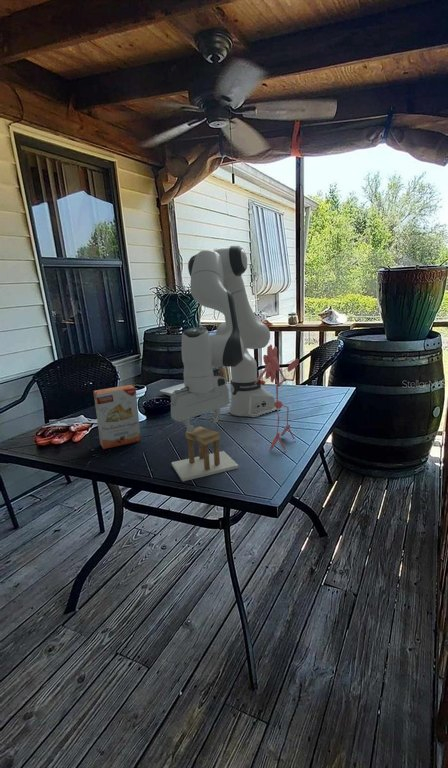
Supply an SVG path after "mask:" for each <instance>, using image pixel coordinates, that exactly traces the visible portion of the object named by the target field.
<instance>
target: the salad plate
mask: <svg viewBox="0 0 448 768" xmlns="http://www.w3.org/2000/svg"><path fill="white" fill-rule="evenodd" d="M184 387H185V386H184V382H183V383H180V384H176V385H173V386H169V387H166V388H162V389H159V392H160V393H161V394H163V395H165V396H169V397H171V395H172V393H173V392H174V391H175V390H177V389H181V388H184ZM174 394H175V393H174Z"/></svg>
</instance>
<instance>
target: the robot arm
mask: <svg viewBox="0 0 448 768" xmlns="http://www.w3.org/2000/svg"><path fill="white" fill-rule="evenodd" d="M187 269H188V274H189V277H190V285H189V286H190V288H189V289H190V294H191V296H192V298H193V300H194V301H195V302H196V303H198V304H199V305H200V306H203V307H205V308H207V309H211V310H215V311H217V312H220V313H221V314H222V315H224V321H225V322H221V323H220V324H219V325H218V326H217V328H216V330H215V335H214V334H209V331H208V329H207V328H205V327H199V326H196V327H190V328H187V329H185V330H184V331H183V332H182V335H181V360H182V363H183V374H182V375H183V383H184V386H185V387H184V388H181V389H177V390H175V391H174V392H173V393H172V395H171V396H170V417H171V419H172V420H173V421H175V422H178V423H181V422H182V423H183V424H184V426H185V428H186V431H187V432H192V431H194V428H195V427H194V425H193V424H191V423H190V422H191V419H193V418H195V417H198V416H201V415H204V414H207V413H210V412H213V413H212V416H210V417H209V418H210V423H211V424H216V423H218V422H219V421H218V420H219V419H218V418H219V415H220V412H221V408H224V407H227V406H228V405H229V403H230V406H229V411H228V412H229V413H230V414H231V415H233V416H238V417H250V418H257V417H260V415H261V416H263V415H262V414H264V415H266V414H265V413H268V414H270V413H269V412H271V413H273V412H272V411H274V410H276V407H275V405H274V404H275V402H276V401H275V396H274V395H273V394H272V392H270V391H268V390H266V388H264V387H262V386H265V384H266V381H265V380H263V379H260V380H259V381H258V382H257V383H256V384H254V383H255V382H256V380H257V378H258V368H257V361H256V359H255V358H254V357H253V356H252V355H251V354H250V351H249V350H258V349H265V348H266V346H268V345H269V343H270V339H271V332H270V331H271V330H270V329H269V327H268V326H267V325H266V324H265V323H263V322H262V321H261V320H260V319H259V318H258V316H256V313H255V312H254V311H253V309H252V307H251V305H250V302H249V298H248V295H247V291H246V287H245V282H244V280H243V276H242V275H243V274H244V273H245V272H246V270H247V269H248V257H247V253H246V252H245V249H244V248H243V247H242V246H240V245H230V246H223V247H217V248H213V249H203V250H200V251H199V252H198V253H197V254H194V255H192V256H191V257H190V259H189V261H188V263H187ZM248 349H249V350H248ZM213 367H230V377H231V379H230V393H231V397H230V394H229V388H228V386H227V384H228V379H227V378H226V377H223V376H219V375H217V374H216V375H215V374H214V370H213ZM174 393H175V394H174ZM230 399H231V400H230ZM277 409H278V408H277ZM279 409H280V410H281V408H279Z"/></svg>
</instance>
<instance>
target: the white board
mask: <svg viewBox="0 0 448 768" xmlns="http://www.w3.org/2000/svg"><path fill="white" fill-rule="evenodd" d="M219 457H220V465H218V466H217V465H214V452H213V453H209V462H210V469H209V470H205V469H204V458H203V459H200V458H199V455H197V456H194V460H195V463H192V464H191V463H189V458H185V459H181V460H175V461H172V462H171V466H172V468H173V469H174V471H175V472H176V474H177V475H178V477H179V479H180V480H181V481H182V482H186V481H187V482H188V481H190V480H191V481H192V480H194V479H198V478H203V477H207V476H211V475H215V474H219V473H225V472H228V471H232V470H236V469H239V464H238V463H237V462H236V461H235V460H233V458H232V457H231V456H230V455H229V454H227V453H226V451H225V450H222V451H221V450H220V451H219Z"/></svg>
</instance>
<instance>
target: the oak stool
mask: <svg viewBox="0 0 448 768" xmlns="http://www.w3.org/2000/svg"><path fill="white" fill-rule="evenodd" d="M185 438H186V439H187V449H188V459H189V463H191V464H192V463H195V460H194V457H195V449H194V442H196V443H198V446H197V447H198V456H199V458H200V459H203V458H204V469H205V470H209V469H210V462H209V454H210V453H209V444H211V443H212V445H213V446H212V447H213V453H214V465H217V466H218V465H220V457H219V452H220V446H219V445H220V442H219V441H220V439H221V435H220V432H218V431H215V430H212V429H210V428H207V427H203V426H201V425H199V426H197V427H194V431H192V432H187V430H186V431H185Z"/></svg>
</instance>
